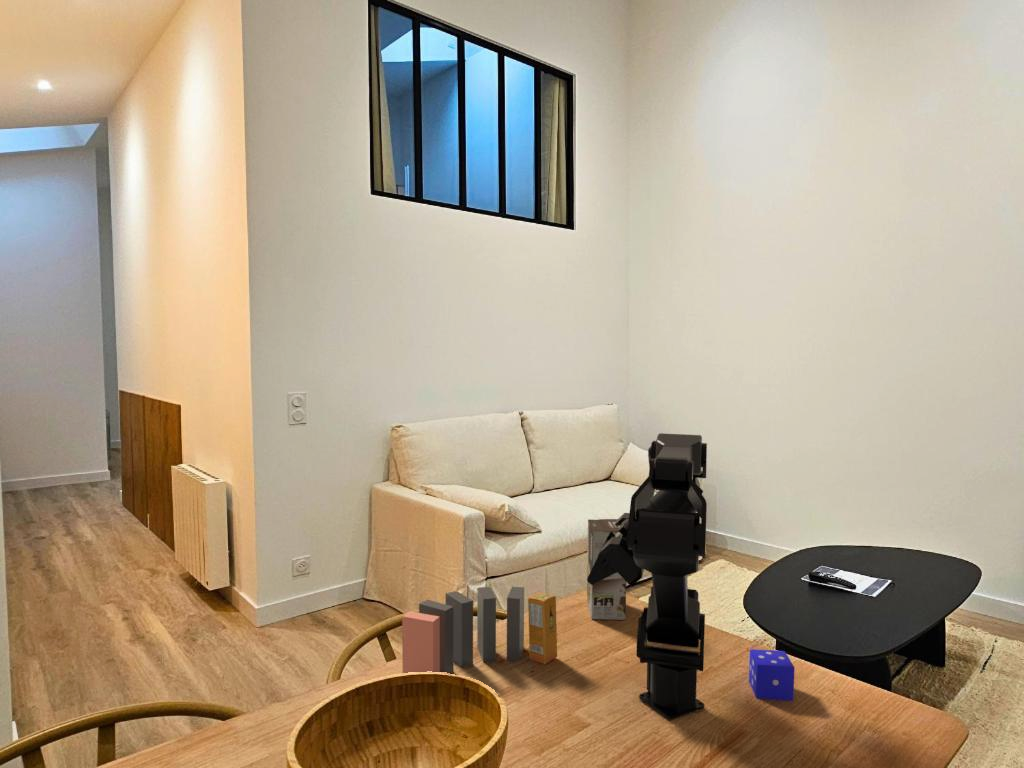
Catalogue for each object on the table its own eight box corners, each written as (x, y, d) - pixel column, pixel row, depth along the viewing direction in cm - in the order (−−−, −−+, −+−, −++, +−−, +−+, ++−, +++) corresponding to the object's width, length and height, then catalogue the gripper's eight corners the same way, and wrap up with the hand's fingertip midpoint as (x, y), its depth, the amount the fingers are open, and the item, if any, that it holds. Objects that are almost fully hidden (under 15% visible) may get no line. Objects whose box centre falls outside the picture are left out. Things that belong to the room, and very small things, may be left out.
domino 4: (489, 646, 113) (489, 586, 112) (495, 660, 108) (496, 598, 107) (477, 648, 112) (477, 587, 112) (483, 662, 107) (483, 599, 107)
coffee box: (627, 620, 124) (628, 531, 123) (590, 620, 124) (592, 531, 123) (619, 601, 133) (621, 518, 132) (586, 600, 133) (587, 517, 132)
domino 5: (523, 647, 113) (524, 587, 112) (519, 661, 108) (519, 598, 107) (511, 646, 113) (512, 586, 112) (506, 660, 108) (507, 597, 107)
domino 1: (409, 677, 103) (409, 611, 102) (439, 683, 101) (439, 616, 100) (402, 683, 101) (402, 616, 100) (433, 690, 99) (433, 621, 98)
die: (756, 699, 97) (757, 664, 97) (748, 681, 102) (749, 648, 102) (793, 701, 96) (794, 666, 96) (784, 684, 101) (785, 650, 101)
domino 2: (427, 662, 107) (427, 599, 106) (453, 671, 104) (453, 606, 104) (419, 667, 105) (419, 603, 105) (445, 676, 103) (445, 610, 102)
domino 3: (456, 652, 111) (456, 590, 110) (473, 664, 107) (473, 600, 106) (445, 655, 110) (445, 593, 109) (461, 667, 106) (461, 603, 105)
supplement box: (540, 651, 111) (540, 590, 110) (557, 658, 109) (558, 595, 108) (527, 659, 109) (527, 596, 108) (544, 665, 106) (545, 602, 106)
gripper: (703, 576, 91) (619, 649, 95) (704, 537, 109) (634, 599, 112) (642, 513, 93) (562, 587, 96) (653, 485, 110) (585, 548, 114)
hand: (589, 581), depth 105 cm, fingers closed
